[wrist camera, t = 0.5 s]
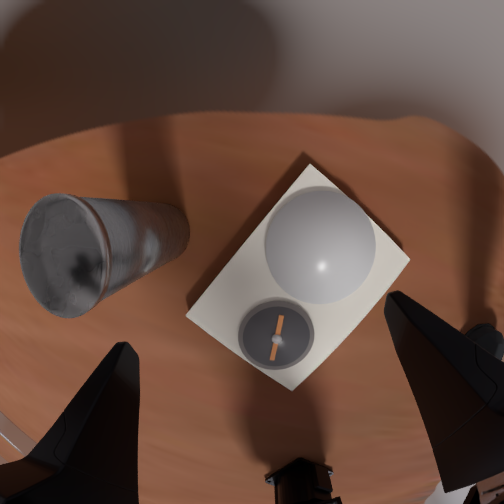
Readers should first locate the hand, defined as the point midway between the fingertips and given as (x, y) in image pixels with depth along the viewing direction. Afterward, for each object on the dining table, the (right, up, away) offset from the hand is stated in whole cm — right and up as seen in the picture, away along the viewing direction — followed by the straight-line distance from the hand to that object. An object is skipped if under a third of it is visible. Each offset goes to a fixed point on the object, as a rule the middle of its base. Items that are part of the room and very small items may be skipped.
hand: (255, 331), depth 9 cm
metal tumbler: (-8, +4, +15) cm, 17 cm away
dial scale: (+4, 0, +15) cm, 15 cm away
